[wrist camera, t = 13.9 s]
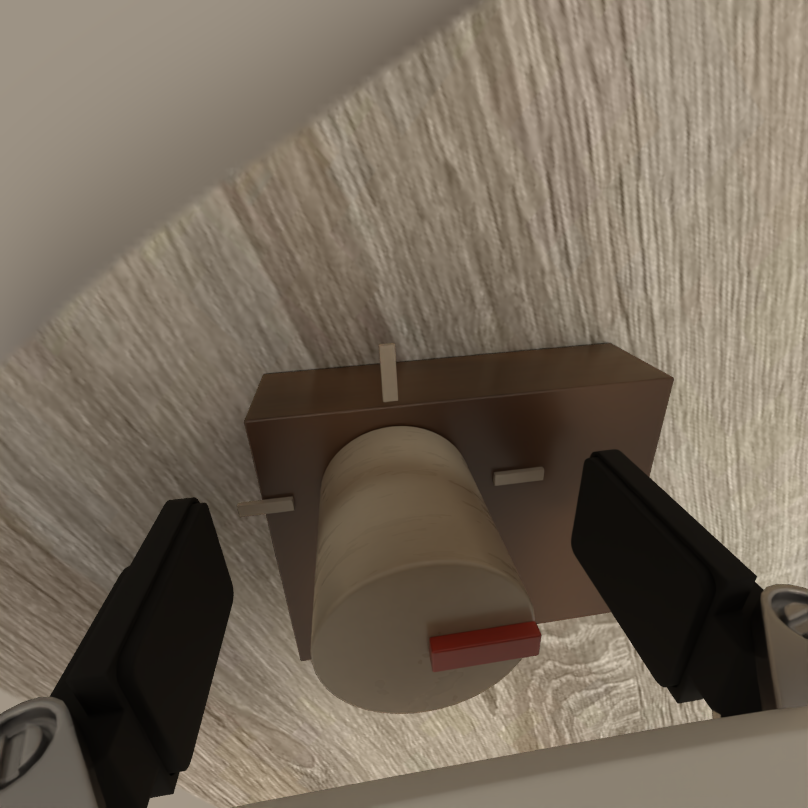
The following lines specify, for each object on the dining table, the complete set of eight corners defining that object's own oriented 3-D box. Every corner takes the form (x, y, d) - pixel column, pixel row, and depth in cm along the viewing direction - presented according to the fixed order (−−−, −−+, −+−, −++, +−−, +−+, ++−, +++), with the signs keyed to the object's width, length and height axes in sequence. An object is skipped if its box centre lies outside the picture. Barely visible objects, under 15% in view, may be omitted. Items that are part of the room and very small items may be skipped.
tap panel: (290, 589, 17) (281, 669, 14) (230, 322, 12) (196, 361, 9) (574, 549, 18) (618, 616, 15) (619, 292, 13) (695, 318, 10)
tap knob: (330, 555, 12) (325, 749, 8) (310, 433, 10) (290, 598, 6) (467, 537, 13) (532, 711, 8) (470, 417, 11) (556, 561, 7)
